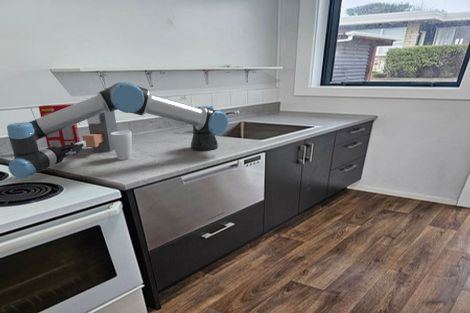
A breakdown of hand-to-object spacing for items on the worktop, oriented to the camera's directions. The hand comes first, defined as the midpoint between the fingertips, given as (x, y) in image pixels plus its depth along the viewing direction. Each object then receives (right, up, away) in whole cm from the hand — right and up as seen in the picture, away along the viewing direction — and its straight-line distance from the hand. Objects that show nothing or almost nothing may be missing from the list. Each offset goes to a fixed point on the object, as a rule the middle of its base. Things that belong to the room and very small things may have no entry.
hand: (84, 143), depth 132 cm
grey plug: (+1, +12, +13) cm, 18 cm away
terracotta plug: (+1, 0, +10) cm, 10 cm away
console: (+2, -2, +19) cm, 19 cm away
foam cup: (+19, -8, +1) cm, 21 cm away
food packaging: (-21, -3, +18) cm, 28 cm away
